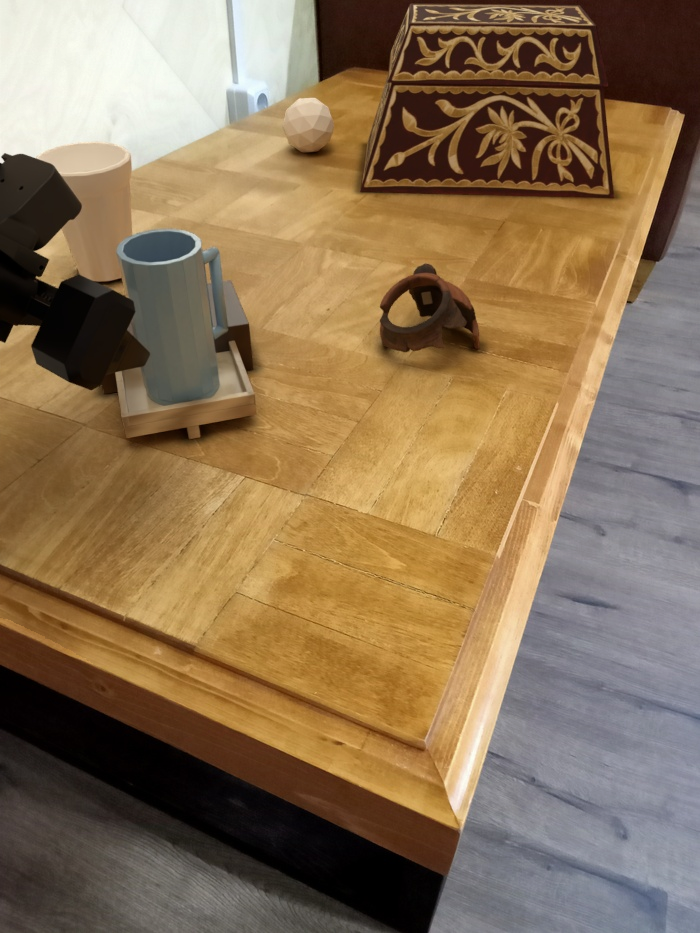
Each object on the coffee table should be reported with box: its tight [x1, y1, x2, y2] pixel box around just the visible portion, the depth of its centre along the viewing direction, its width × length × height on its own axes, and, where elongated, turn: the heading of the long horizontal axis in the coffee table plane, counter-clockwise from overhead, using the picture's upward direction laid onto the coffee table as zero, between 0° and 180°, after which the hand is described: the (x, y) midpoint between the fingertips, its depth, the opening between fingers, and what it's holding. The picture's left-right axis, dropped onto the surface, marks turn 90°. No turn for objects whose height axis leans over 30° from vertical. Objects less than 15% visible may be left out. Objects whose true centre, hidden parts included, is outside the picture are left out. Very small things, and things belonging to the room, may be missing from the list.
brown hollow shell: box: [379, 263, 481, 353], centre depth 77 cm, size 12×10×8 cm
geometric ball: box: [282, 97, 335, 153], centre depth 119 cm, size 8×8×8 cm
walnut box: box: [101, 279, 257, 440], centre depth 71 cm, size 14×18×5 cm
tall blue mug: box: [116, 228, 228, 406], centre depth 65 cm, size 9×6×13 cm
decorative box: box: [359, 2, 615, 199], centre depth 108 cm, size 35×19×20 cm, turn 86°
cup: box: [35, 141, 133, 283], centre depth 86 cm, size 10×10×13 cm
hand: (106, 338), depth 59 cm, fingers open, 9 cm apart
